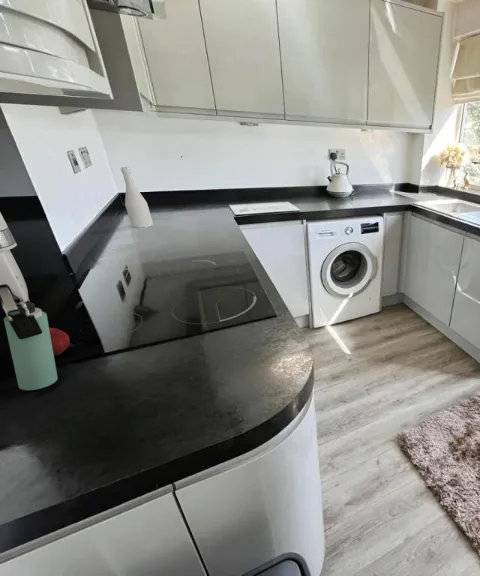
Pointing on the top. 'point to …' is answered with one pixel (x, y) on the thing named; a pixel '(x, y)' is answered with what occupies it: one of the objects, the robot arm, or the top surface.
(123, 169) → the wine bottle
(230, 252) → the top surface
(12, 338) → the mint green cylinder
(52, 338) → the onion
